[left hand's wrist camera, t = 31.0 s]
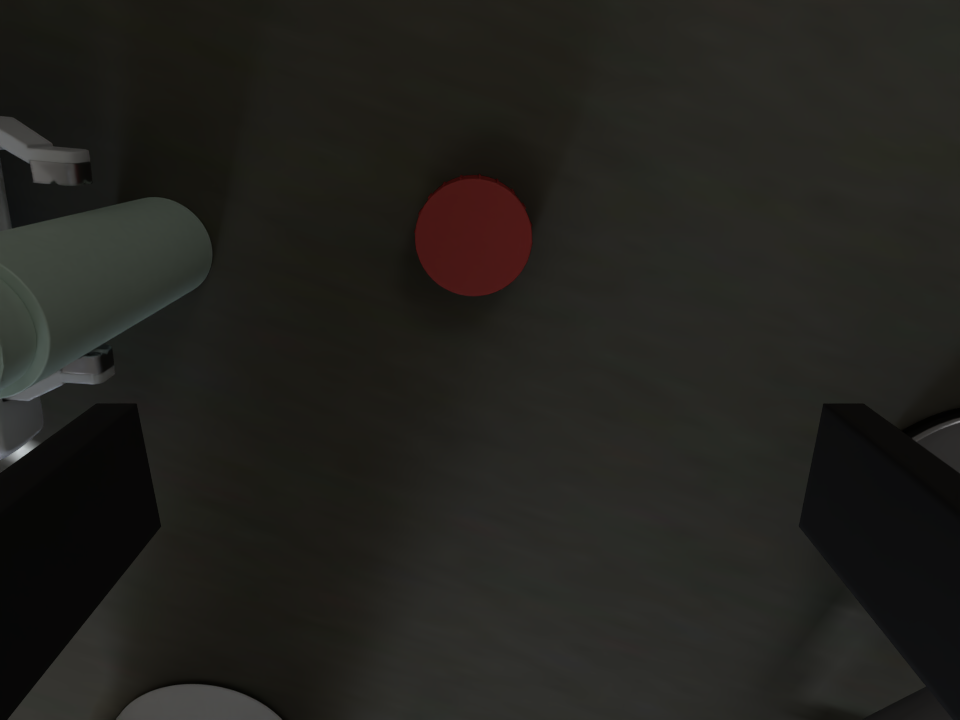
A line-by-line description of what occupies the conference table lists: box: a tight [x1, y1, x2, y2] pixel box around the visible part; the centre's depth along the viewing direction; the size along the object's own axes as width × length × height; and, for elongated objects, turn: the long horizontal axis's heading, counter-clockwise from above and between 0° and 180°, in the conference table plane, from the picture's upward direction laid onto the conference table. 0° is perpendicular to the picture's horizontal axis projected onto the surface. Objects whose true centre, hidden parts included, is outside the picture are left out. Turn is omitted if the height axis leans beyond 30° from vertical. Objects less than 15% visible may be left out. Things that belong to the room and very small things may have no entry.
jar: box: [0, 197, 213, 398], centre depth 28 cm, size 6×6×17 cm
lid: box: [414, 174, 532, 296], centre depth 35 cm, size 6×6×2 cm
